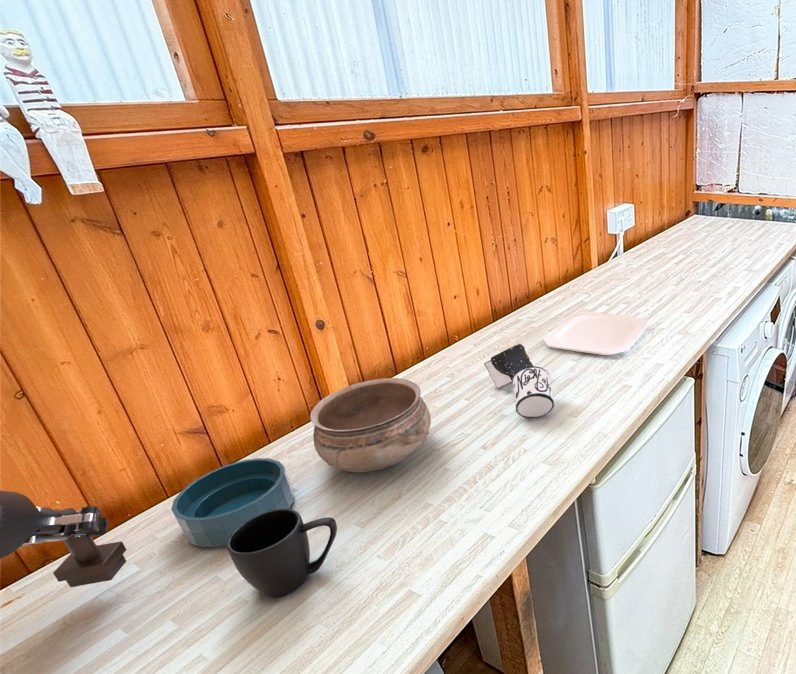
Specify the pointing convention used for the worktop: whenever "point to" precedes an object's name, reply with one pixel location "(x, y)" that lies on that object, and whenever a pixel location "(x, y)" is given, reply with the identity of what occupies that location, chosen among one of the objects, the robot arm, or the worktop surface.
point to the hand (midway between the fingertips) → (89, 529)
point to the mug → (276, 550)
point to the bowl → (230, 499)
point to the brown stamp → (90, 561)
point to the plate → (596, 333)
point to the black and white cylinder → (522, 381)
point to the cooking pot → (370, 424)
